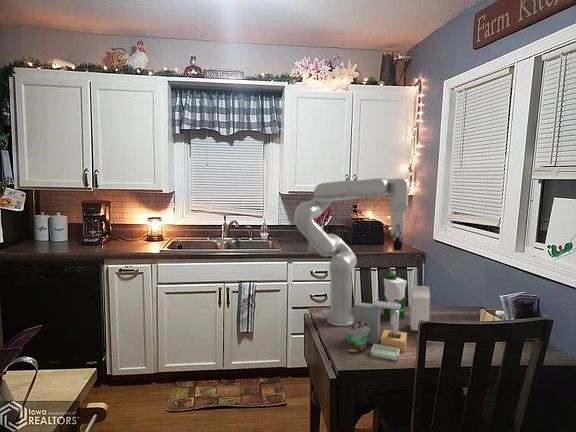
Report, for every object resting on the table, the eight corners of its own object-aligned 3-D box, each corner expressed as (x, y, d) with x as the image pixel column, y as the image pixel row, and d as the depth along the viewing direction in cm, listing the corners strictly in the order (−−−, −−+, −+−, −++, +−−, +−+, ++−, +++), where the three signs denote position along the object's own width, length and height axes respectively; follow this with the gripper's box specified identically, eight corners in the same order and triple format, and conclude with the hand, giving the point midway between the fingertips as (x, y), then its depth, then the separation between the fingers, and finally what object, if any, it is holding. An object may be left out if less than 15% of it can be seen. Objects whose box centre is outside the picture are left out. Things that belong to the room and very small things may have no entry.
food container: (362, 358, 142) (362, 332, 141) (346, 354, 145) (347, 328, 144) (373, 345, 152) (374, 321, 151) (358, 342, 156) (359, 318, 155)
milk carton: (428, 331, 166) (430, 289, 164) (411, 330, 167) (413, 288, 165) (426, 325, 173) (427, 284, 171) (409, 324, 174) (411, 283, 172)
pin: (389, 346, 152) (390, 311, 151) (390, 342, 155) (391, 309, 154) (397, 347, 151) (398, 313, 149) (398, 344, 154) (399, 310, 152)
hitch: (351, 342, 155) (352, 306, 153) (356, 334, 163) (357, 300, 162) (404, 351, 147) (405, 314, 146) (406, 342, 155) (408, 306, 154)
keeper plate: (373, 306, 152) (373, 303, 152) (375, 303, 156) (375, 300, 156) (399, 309, 149) (399, 307, 148) (400, 306, 153) (401, 303, 152)
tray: (369, 356, 144) (370, 351, 144) (373, 348, 150) (373, 343, 150) (397, 361, 140) (397, 356, 140) (399, 352, 146) (399, 348, 146)
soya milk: (393, 311, 190) (395, 272, 188) (407, 317, 182) (409, 276, 180) (380, 315, 186) (381, 274, 184) (394, 321, 178) (395, 279, 176)
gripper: (390, 206, 171) (389, 244, 173) (388, 209, 155) (387, 251, 157) (407, 206, 169) (406, 245, 171) (407, 210, 153) (406, 252, 154)
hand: (397, 248), depth 164 cm, fingers open, 9 cm apart
